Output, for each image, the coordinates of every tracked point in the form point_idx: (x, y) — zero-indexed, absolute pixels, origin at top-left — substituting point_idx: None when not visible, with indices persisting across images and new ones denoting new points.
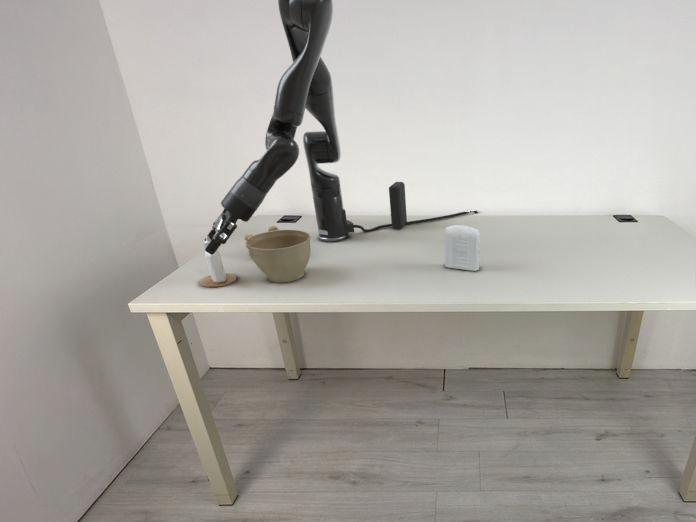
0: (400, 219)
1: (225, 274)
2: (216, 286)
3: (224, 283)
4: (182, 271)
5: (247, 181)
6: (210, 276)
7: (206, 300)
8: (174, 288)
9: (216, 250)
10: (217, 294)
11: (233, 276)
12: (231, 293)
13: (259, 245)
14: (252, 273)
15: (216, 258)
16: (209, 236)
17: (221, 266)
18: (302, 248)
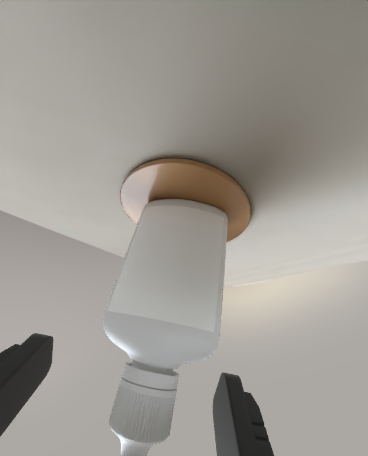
0: None
1: (135, 187)
2: (240, 232)
3: (240, 216)
4: (67, 235)
5: None
6: (138, 220)
7: (316, 263)
8: None
9: (248, 412)
10: (305, 243)
11: (180, 172)
12: (356, 222)
13: None
14: (158, 35)
15: (219, 332)
16: (15, 406)
17: (221, 276)
18: None
